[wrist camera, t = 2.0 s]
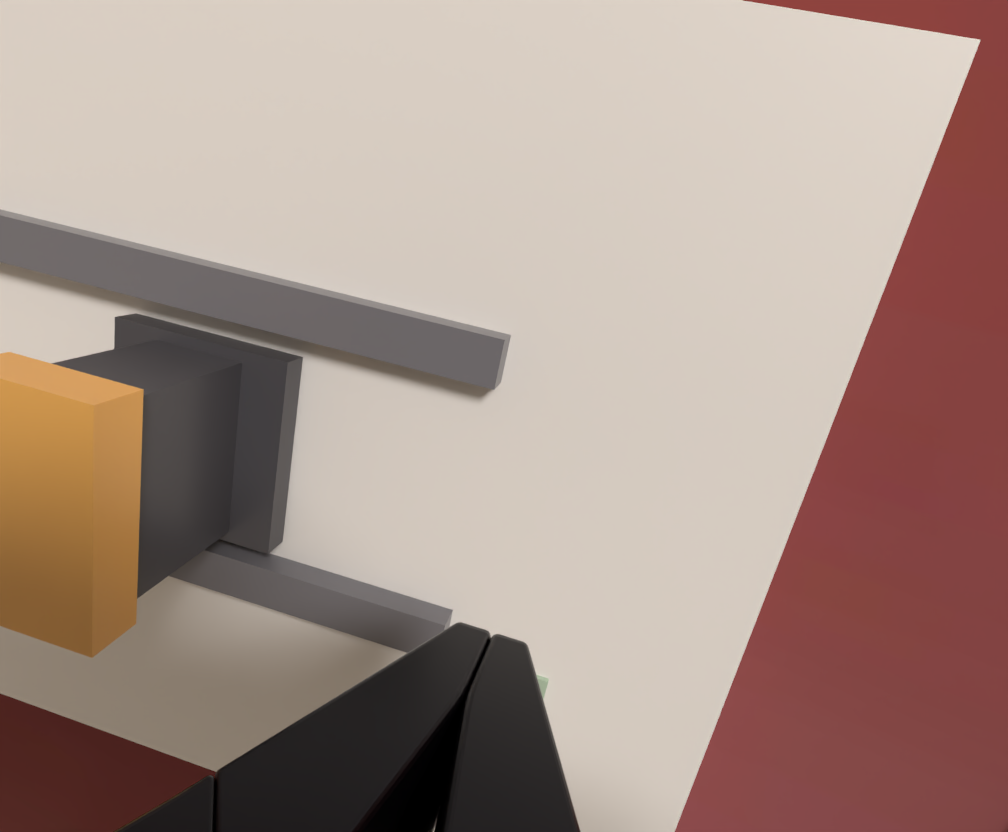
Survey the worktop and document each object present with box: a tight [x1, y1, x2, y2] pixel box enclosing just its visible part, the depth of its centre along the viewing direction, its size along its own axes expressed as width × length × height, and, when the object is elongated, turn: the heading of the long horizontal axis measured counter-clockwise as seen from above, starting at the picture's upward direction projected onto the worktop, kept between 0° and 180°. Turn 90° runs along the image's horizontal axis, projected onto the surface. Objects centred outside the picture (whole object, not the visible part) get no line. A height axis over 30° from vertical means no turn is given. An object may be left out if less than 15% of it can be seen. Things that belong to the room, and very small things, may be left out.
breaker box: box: [0, 0, 980, 832], centre depth 13 cm, size 20×16×4 cm
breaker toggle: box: [0, 313, 303, 658], centre depth 10 cm, size 3×4×4 cm
